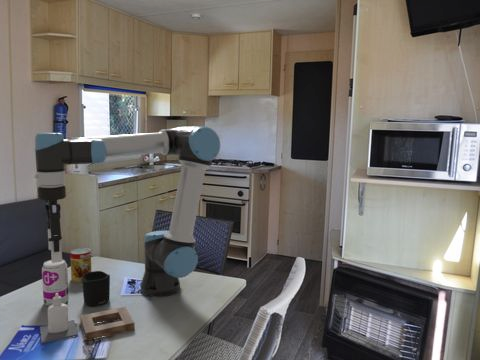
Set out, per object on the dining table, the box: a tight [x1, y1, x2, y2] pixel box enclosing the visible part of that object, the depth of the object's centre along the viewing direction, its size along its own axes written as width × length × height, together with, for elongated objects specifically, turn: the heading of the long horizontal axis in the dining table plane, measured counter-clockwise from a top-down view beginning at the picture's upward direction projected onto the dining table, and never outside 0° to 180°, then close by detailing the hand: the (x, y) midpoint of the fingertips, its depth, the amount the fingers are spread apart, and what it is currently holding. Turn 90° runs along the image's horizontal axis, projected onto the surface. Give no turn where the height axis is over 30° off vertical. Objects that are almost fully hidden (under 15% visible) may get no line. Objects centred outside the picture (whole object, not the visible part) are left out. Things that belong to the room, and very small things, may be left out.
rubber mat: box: [39, 319, 79, 345], centre depth 124 cm, size 10×10×1 cm
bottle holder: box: [80, 306, 136, 342], centre depth 128 cm, size 14×12×2 cm
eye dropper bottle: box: [47, 293, 69, 333], centre depth 124 cm, size 4×6×12 cm
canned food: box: [69, 247, 92, 283], centre depth 167 cm, size 8×8×12 cm
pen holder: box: [81, 270, 111, 308], centre depth 145 cm, size 9×9×10 cm
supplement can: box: [41, 259, 70, 307], centre depth 144 cm, size 8×8×15 cm
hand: (55, 255), depth 121 cm, fingers open, 13 cm apart
